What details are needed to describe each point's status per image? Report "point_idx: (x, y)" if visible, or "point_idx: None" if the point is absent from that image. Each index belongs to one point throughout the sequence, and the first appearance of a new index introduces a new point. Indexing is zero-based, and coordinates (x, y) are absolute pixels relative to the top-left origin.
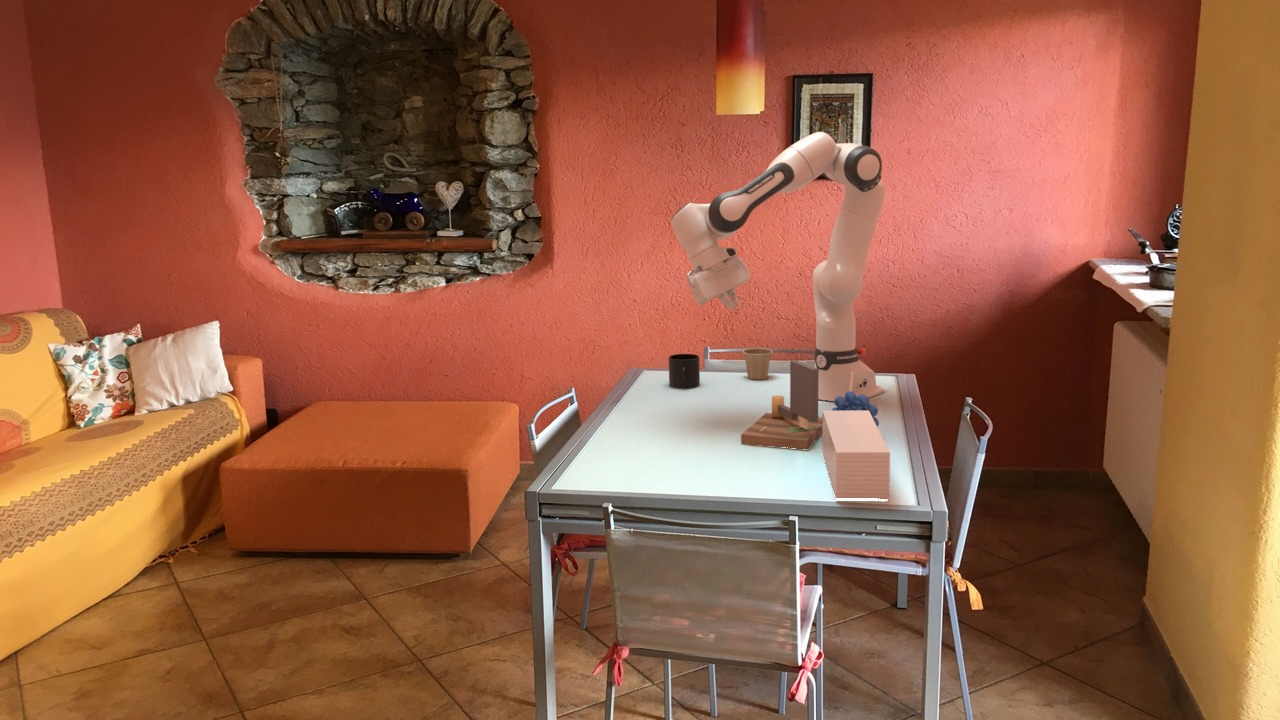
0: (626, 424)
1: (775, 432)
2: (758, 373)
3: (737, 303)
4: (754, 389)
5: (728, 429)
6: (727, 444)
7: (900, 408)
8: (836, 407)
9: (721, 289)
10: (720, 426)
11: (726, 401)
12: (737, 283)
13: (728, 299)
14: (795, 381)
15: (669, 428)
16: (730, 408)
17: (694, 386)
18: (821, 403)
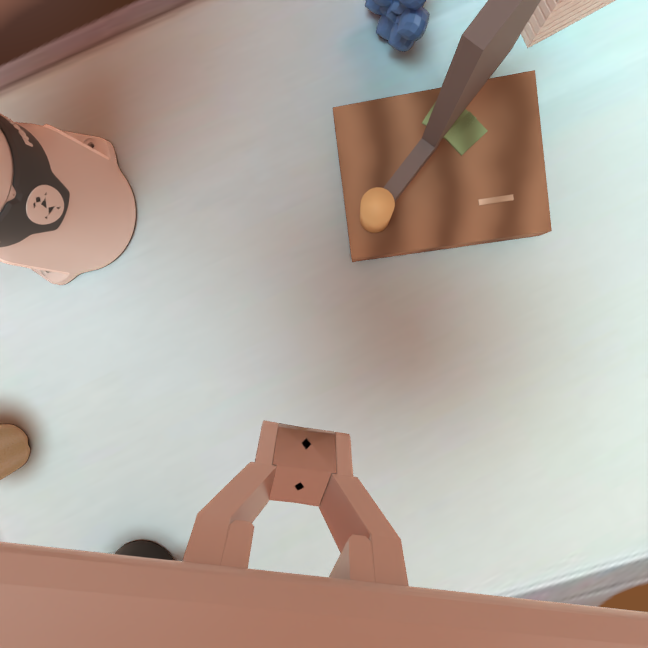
0: (508, 538)
1: (502, 165)
2: (13, 440)
3: (284, 430)
4: (109, 407)
5: (445, 312)
6: (554, 261)
7: (119, 37)
8: (416, 11)
9: (463, 645)
10: (430, 339)
11: (233, 420)
12: (109, 579)
13: (364, 500)
14: (483, 66)
15: (495, 435)
16: (284, 385)
17: (154, 544)
18: (156, 215)
